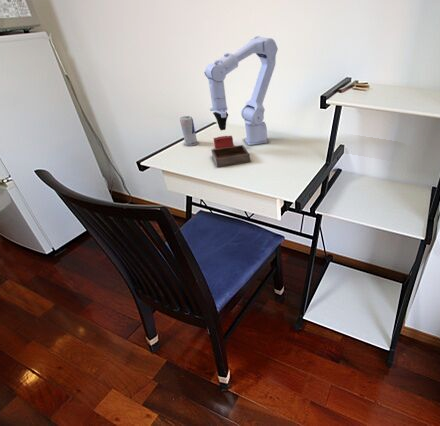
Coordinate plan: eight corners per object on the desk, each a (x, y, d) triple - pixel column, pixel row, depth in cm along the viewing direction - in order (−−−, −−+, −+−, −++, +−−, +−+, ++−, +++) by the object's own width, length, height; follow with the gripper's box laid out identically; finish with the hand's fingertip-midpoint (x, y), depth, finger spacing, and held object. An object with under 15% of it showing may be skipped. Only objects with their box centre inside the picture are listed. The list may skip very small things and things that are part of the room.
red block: (231, 144, 141) (230, 134, 138) (234, 148, 137) (232, 137, 134) (214, 147, 138) (212, 136, 135) (216, 151, 134) (214, 140, 132)
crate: (243, 152, 134) (242, 145, 132) (250, 161, 127) (249, 154, 125) (212, 157, 129) (211, 149, 127) (217, 167, 122) (216, 159, 120)
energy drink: (199, 141, 143) (194, 116, 136) (194, 146, 138) (189, 120, 132) (188, 141, 143) (182, 115, 136) (183, 145, 139) (177, 119, 132)
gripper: (205, 93, 127) (210, 125, 134) (211, 102, 116) (216, 136, 124) (222, 91, 129) (225, 123, 137) (229, 100, 118) (233, 134, 126)
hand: (222, 129), depth 131 cm, fingers closed
